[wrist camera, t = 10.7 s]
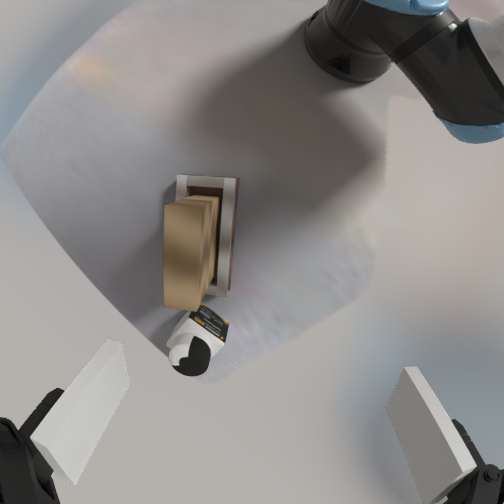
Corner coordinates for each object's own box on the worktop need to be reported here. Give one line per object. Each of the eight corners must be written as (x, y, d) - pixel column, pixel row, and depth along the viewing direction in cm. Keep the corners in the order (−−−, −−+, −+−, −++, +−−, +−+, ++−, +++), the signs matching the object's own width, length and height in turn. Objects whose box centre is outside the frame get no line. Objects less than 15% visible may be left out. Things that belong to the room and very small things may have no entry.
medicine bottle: (230, 322, 49) (221, 363, 38) (207, 346, 51) (194, 388, 40) (197, 298, 48) (179, 334, 37) (176, 324, 50) (155, 362, 39)
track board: (182, 174, 43) (175, 174, 40) (238, 178, 43) (236, 178, 39) (177, 282, 48) (171, 290, 44) (229, 288, 48) (227, 296, 44)
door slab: (194, 194, 43) (164, 204, 29) (220, 196, 43) (200, 207, 29) (191, 269, 46) (164, 307, 32) (215, 271, 46) (196, 311, 32)
